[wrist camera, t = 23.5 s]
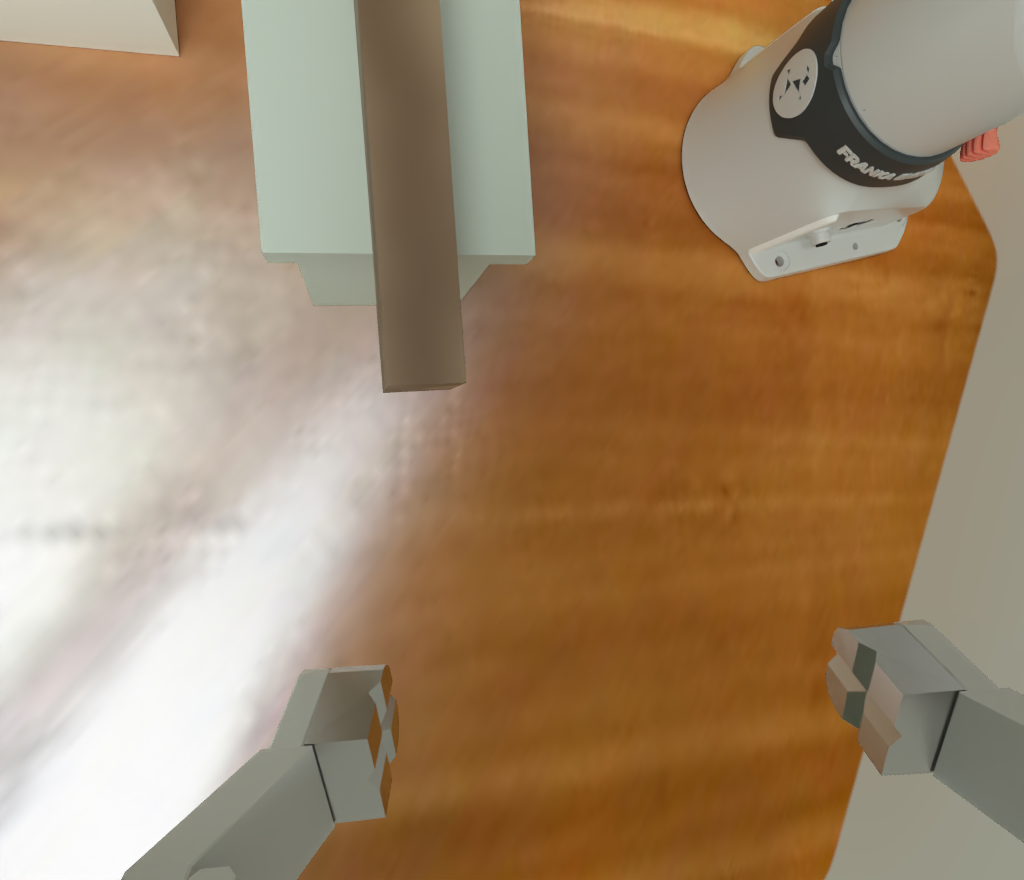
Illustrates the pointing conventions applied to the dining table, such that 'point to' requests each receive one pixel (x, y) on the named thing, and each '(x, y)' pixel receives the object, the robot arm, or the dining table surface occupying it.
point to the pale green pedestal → (341, 151)
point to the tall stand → (93, 24)
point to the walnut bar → (410, 194)
